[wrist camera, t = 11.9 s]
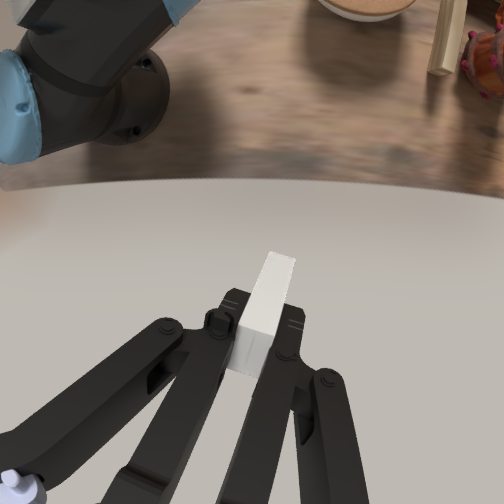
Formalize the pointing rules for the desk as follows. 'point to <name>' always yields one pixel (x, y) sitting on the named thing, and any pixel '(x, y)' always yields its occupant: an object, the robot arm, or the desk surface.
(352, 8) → the lidded bowl
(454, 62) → the wooden u-shaped frame
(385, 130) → the desk surface
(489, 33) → the mug
